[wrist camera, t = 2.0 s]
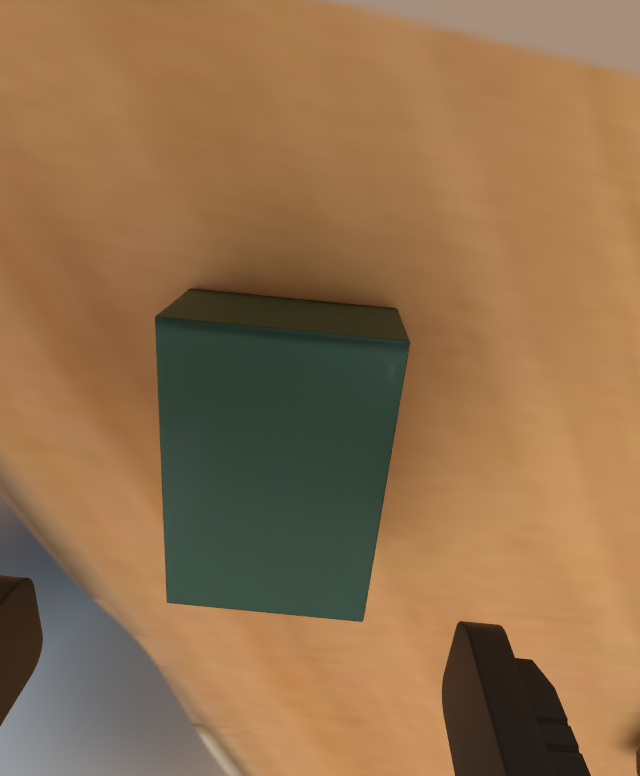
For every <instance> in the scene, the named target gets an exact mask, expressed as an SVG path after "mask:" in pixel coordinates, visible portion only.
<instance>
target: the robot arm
mask: <svg viewBox="0 0 640 776" xmlns="http://www.w3.org/2000/svg"><path fill="white" fill-rule="evenodd" d="M42 642H43V636H42V629H41V623H40V618H39V612H38V606H37V600H36V594H35V588H34V584H33V582H32V580H31V579H29V578H22V577H11V576H1V575H0V726H1V724H2V722H3V721H4V719H5V717H6V716H7V714H8V712H9V711H10V709H11V708H12V706H13V704H14V703H15V701H16V699H17V698H18V696H19V695H20V693H21V691H22V690H23V688H24V686H25V685H26V683H27V681H28V680H29V678H30V677H31V675H32V673H33V671H34V669H35V667H36V665H37V663H38V659H39V657H40V653H41V649H42ZM442 705H443V714H444V719H445V725H446V730H447V735H448V740H449V746H450V751H451V756H452V761H453V767H454V772H455V776H591V775H590V773H589V770H588V768H587V765H586V763H585V761H584V758H583V756H582V754H580V753H579V749H578V748H579V746H578V744H577V741H576V739H575V736H574V734H573V732H572V729H571V727H570V726H568V723H567V720H568V719H567V717H566V715H565V712H564V710H563V707H562V705H561V702H560V700H559V698H558V695H557V693H556V690H555V688H554V687H553V685H552V684H551V683H550V682H549V680H548V679H547V678H546V677H545V675H544V674H543V673H542V672H541V670H540V669H539V668H538V667H537V666H536V664H535V663H534V662H533V661H532V660H529V659H519V658H515V657H514V654H513V651H512V649H511V646H510V643H509V640H508V637H507V635H506V632H505V630H504V629H503V627H502V626H500V625H494V624H484V623H474V622H463V621H460V622H459V623H458V624H457V627H456V630H455V634H454V638H453V642H452V645H451V649H450V653H449V657H448V661H447V664H446V668H445V672H444V676H443V683H442Z"/></svg>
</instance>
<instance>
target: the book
mask: <svg viewBox="0 0 640 776" xmlns="http://www.w3.org/2000/svg"><path fill="white" fill-rule="evenodd" d="M636 762H637V774H638V776H640V748H639V749H638V750H636Z"/></svg>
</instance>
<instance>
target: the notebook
mask: <svg viewBox="0 0 640 776" xmlns="http://www.w3.org/2000/svg"><path fill="white" fill-rule="evenodd" d="M155 328H156V352H157V376H158V400H159V424H160V447H161V471H162V495H163V519H164V543H165V567H166V591H167V603H174V604H184V605H195V606H205V607H215V608H225V609H236V610H246V611H256V612H267V613H277V614H287V615H297V616H308V617H318V618H328V619H338V620H349V621H359V622H363V620H364V614H365V608H366V602H367V596H368V590H369V584H370V578H371V572H372V566H373V560H374V554H375V548H376V542H377V536H378V530H379V524H380V518H381V512H382V506H383V501H384V495H385V489H386V483H387V477H388V471H389V465H390V459H391V453H392V447H393V441H394V435H395V429H396V423H397V417H398V411H399V405H400V399H401V393H402V387H403V381H404V375H405V370H406V364H407V358H408V352H409V346H410V341H409V338H408V336H407V333H406V331H405V328H404V325H403V323H402V320H401V318H400V315H399V312H398V310H397V309H395V308H385V307H375V306H364V305H354V304H344V303H333V302H323V301H313V300H303V299H292V298H282V297H272V296H261V295H251V294H241V293H231V292H220V291H210V290H200V289H189V290H188V291H186V292H185V293H184V294H183V295H181V296H180V297H179V298H178V299H177V300H175V301H174V302H173V303H172V304H170V305H169V306H168V307H167V308H165V309H164V310H163V311H162V312H161V313H159V314H158V315H157V316H156V317H155Z"/></svg>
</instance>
